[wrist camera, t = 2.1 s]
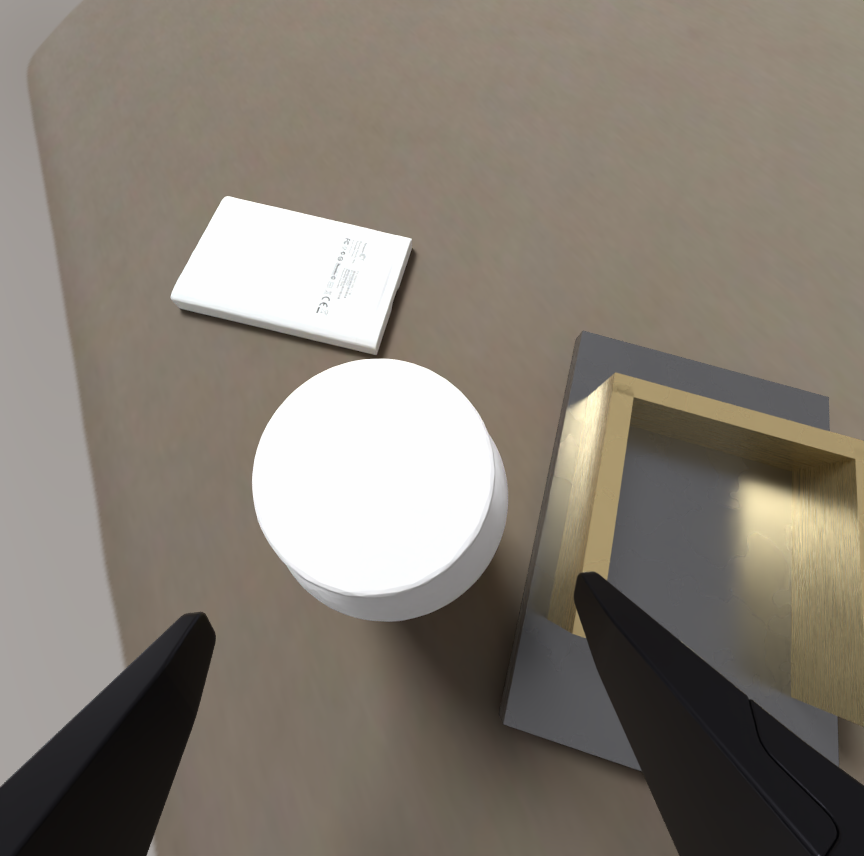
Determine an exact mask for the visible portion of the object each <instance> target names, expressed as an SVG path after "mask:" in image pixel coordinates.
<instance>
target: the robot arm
mask: <svg viewBox="0 0 864 856" xmlns="http://www.w3.org/2000/svg"><path fill="white" fill-rule="evenodd" d="M574 603H575V606H576V609H577V612H578V615H579V618H580V621H581V624H582V627H583V630H584V633H585V636H586V639H587V642H588V645H589V648H590V651H591V654H592V657H593V660H594V663H595V666H596V669H597V671H598V673H599V676H600V678H601V680H602V683H603V685H604V687H605V689H606V692H607V694H608V696H609V698H610V701H611V703H612V705H613V707H614V710H615V712H616V714H617V716H618V719H619V721H620V723H621V725H622V728H623V730H624V732H625V734H626V737H627V739H628V741H629V743H630V746H631V748H632V750H633V752H634V755H635V757H636V759H637V761H638V764H639V766H640V768H641V770H642V773H643V775H644V777H645V779H646V782H647V784H648V786H649V788H650V791H651V793H652V795H653V797H654V800H655V802H656V804H657V806H658V809H659V811H660V813H661V815H662V818H663V820H664V822H665V824H666V827H667V829H668V831H669V833H670V836H671V838H672V840H673V842H674V845H675V847H676V849H677V851H678V854H679V856H864V785H862V784H861V783H860V782H858V781H857V780H856V779H854V778H853V777H851V776H850V775H849V774H847V773H846V772H845V771H843V770H842V769H841V768H839V767H838V766H837V765H835V764H834V763H833V762H831V761H830V760H829V759H827V758H826V757H825V756H823V755H822V754H821V753H819V752H818V751H817V750H815V749H814V748H813V747H811V746H810V745H808V744H807V743H806V742H805V741H803V740H802V739H801V738H800V737H798V736H797V735H796V734H794V733H793V732H792V731H791V730H789V729H788V728H787V727H786V726H784V725H783V724H782V723H781V722H779V721H778V720H777V719H776V718H774V717H773V716H772V715H771V714H769V713H768V712H767V711H766V710H765V709H763V708H762V707H761V706H760V705H758V704H757V703H756V702H755V701H754V700H752V699H749V698H748V696H747V695H746V694H745V693H744V692H742V691H741V690H740V689H739V688H737V687H736V686H735V685H734V684H733V683H731V682H730V681H729V680H728V679H726V678H725V677H724V676H723V675H722V674H720V673H719V672H718V671H717V670H716V669H714V668H713V667H712V666H711V665H709V664H708V663H707V662H706V661H705V660H703V659H702V658H701V657H700V656H698V655H697V654H696V653H695V652H694V651H692V650H691V649H690V648H689V647H687V646H686V645H685V644H684V643H683V642H681V641H680V640H679V639H678V638H676V637H675V636H674V635H673V634H672V633H670V632H669V631H668V630H667V629H665V628H664V627H663V626H662V625H661V624H659V623H658V622H657V621H656V620H654V619H653V618H652V617H651V616H650V615H648V614H647V613H646V612H645V611H644V610H642V609H641V608H640V607H639V606H637V605H636V604H635V603H634V602H633V601H631V600H630V599H629V598H628V597H626V596H625V595H624V594H623V593H622V592H620V591H619V590H618V589H617V588H615V587H614V586H613V585H612V584H611V583H609V582H608V581H607V580H606V579H604V578H603V577H602V576H601V575H600V574H598V573H597V572H594V571H590V572H581V573H579V574H578V576H577V580H576V585H575V590H574ZM215 641H216V635H215V631H214V629H213V627H212V625H211V623H210V622H209V620H208V618H207V616H206V614H205V613H203V612H195V613H187V614H184V615H183V616H181V617H180V618H179V619H178V620H177V621H176V622H175V623H174V624H173V625H171V626H170V627H169V628H168V629H167V630H166V631H165V632H164V633H163V634H162V635H161V636H160V637H159V638H158V639H157V640H156V641H154V642H153V643H152V644H151V645H150V646H149V647H148V648H147V649H146V650H145V651H144V652H143V653H142V654H141V655H140V656H139V657H137V658H136V659H135V660H134V661H133V662H132V663H131V664H130V665H129V666H128V667H127V668H126V669H125V670H124V671H123V672H122V673H120V675H119V676H117V677H116V678H115V679H114V680H113V681H112V682H111V683H110V684H109V685H108V686H107V687H106V688H105V689H104V690H102V691H101V692H100V693H99V694H98V695H97V696H96V697H95V698H94V699H93V700H92V701H91V702H90V703H89V704H88V705H87V706H85V707H84V708H83V709H82V710H81V711H80V712H79V713H78V714H77V715H76V716H75V717H74V718H73V719H72V720H71V721H69V723H67V724H66V725H65V726H64V727H63V728H62V729H61V730H60V731H59V732H58V733H57V734H56V735H55V736H54V737H53V738H52V739H50V740H49V741H48V742H47V743H46V744H45V745H44V746H43V747H42V748H41V749H40V750H39V751H38V752H37V753H35V754H34V755H33V756H32V758H30V759H29V760H28V761H27V762H26V763H25V764H24V765H23V766H22V767H21V768H20V769H18V770H17V771H16V772H15V773H14V774H13V775H12V776H11V777H10V778H9V779H8V780H7V781H6V782H5V783H4V784H3V785H2V786H0V856H146V855H147V853H148V850H149V847H150V844H151V842H152V839H153V836H154V833H155V830H156V828H157V825H158V822H159V819H160V816H161V814H162V811H163V808H164V805H165V802H166V800H167V797H168V794H169V791H170V789H171V786H172V783H173V780H174V777H175V775H176V772H177V769H178V766H179V763H180V761H181V758H182V755H183V752H184V749H185V747H186V744H187V741H188V738H189V736H190V733H191V730H192V727H193V724H194V721H195V718H196V715H197V711H198V708H199V704H200V701H201V697H202V693H203V689H204V685H205V681H206V677H207V673H208V670H209V666H210V662H211V658H212V654H213V650H214V646H215Z"/></svg>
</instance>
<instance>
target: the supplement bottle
mask: <svg viewBox="0 0 864 856" xmlns="http://www.w3.org/2000/svg"><path fill="white" fill-rule="evenodd" d="M252 488H253V499H254V506H255V510H256V514H257V518H258V522H259V524H260V526H261V529H262V531H263V533H264V535H265V537H266V539H267V540H268V542H269V544H270V545H271V547H272V548H273V550H274V551H275V552H276V554H277V555H278V556H279V558H280V559H281V560H282V561H283V562H284V563H285V564H286V565H287V567H288V569H289V570H290V572H291V573H292V575H293V576H294V577H295V579H296V580H297V581H298V582H299V583H300V584H301V585H302V587H303V588H304V589H305V590H306V591H308V592H309V593H310V594H311V595H312V596H314V597H315V598H316V599H318V600H319V601H320V602H322V603H323V604H325V605H327V606H328V607H330V608H332V609H334V610H336V611H338V612H341V613H343V614H346V615H349V616H352V617H355V618H359V619H365V620H371V621H385V622H391V621H403V620H407V619H412V618H416V617H420V616H423V615H426V614H429V613H431V612H434V611H436V610H438V609H440V608H442V607H444V606H445V605H447V604H449V603H451V602H452V601H454V600H455V599H457V598H458V597H459V596H460V595H462V594H463V593H464V592H465V591H467V590H468V589H469V588H470V587H471V586H472V585H473V584H474V583H475V582H476V581H477V580H478V579H479V577H480V576H481V575H482V573H483V572H484V571H485V569H486V568H487V566H488V565H489V563H490V562H491V560H492V558H493V556H494V554H495V552H496V550H497V548H498V546H499V543H500V541H501V538H502V535H503V531H504V528H505V523H506V517H507V511H508V485H507V479H506V473H505V469H504V465H503V462H502V459H501V456H500V454H499V451H498V449H497V447H496V445H495V443H494V441H493V440H492V438H491V437H490V435H489V434H488V431H487V429H486V427H485V425H484V423H483V421H482V419H481V417H480V415H479V414H478V412H477V411H476V409H475V408H474V407H473V405H472V404H471V403H470V401H469V400H468V399H467V398H466V397H465V396H464V395H463V394H462V392H461V391H459V390H458V389H457V388H456V387H455V386H454V385H452V384H451V383H450V382H448V381H447V380H446V379H444V378H443V377H441V376H439V375H437V374H436V373H434V372H432V371H430V370H428V369H426V368H424V367H421V366H418V365H416V364H413V363H409V362H405V361H399V360H392V359H365V360H358V361H352V362H349V363H345V364H342V365H339V366H336V367H333V368H330V369H328V370H326V371H324V372H322V373H320V374H318V375H316V376H314V377H313V378H311V379H310V380H308V381H307V382H305V383H304V384H303V385H301V386H300V387H299V388H297V389H296V390H295V391H294V392H293V393H292V394H291V395H290V396H289V397H288V398H287V399H286V400H285V401H284V403H283V404H282V405H281V406H280V407H279V408H278V409H277V411H276V412H275V414H274V415H273V417H272V418H271V420H270V421H269V423H268V425H267V427H266V429H265V431H264V433H263V435H262V437H261V440H260V443H259V445H258V448H257V452H256V456H255V460H254V468H253V477H252Z"/></svg>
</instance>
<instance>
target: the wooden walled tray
mask: <svg viewBox="0 0 864 856" xmlns="http://www.w3.org/2000/svg"><path fill="white" fill-rule="evenodd" d="M590 571H594V572H597V573H598V574H600V575H601V576H602V577H603V578H604V579H606V580H607V581H608V582H609V583H611V584H612V585H613V586H614V587H615V588H617V589H618V590H619V591H620V592H622V593H623V594H624V595H625V596H626V597H628V598H629V599H630V600H631V601H633V602H634V603H635V604H636V605H637V606H639V607H640V608H641V609H642V610H644V611H645V612H646V613H647V614H648V615H650V616H651V617H652V618H653V619H654V620H656V621H657V622H658V623H659V624H661V625H662V626H663V627H664V628H665V629H667V630H668V631H669V632H670V633H672V634H673V635H674V636H675V637H676V638H678V639H679V640H680V641H681V642H683V643H684V644H685V645H686V646H687V647H689V648H690V649H691V650H692V651H694V652H695V653H696V654H697V655H698V656H700V657H701V658H702V659H703V660H705V661H706V662H707V663H708V664H709V665H711V666H712V667H713V668H714V669H716V670H717V671H718V672H719V673H720V674H722V675H723V676H724V677H725V678H726V679H728V680H729V681H730V682H731V683H733V684H734V685H735V686H736V687H737V688H739V689H740V690H741V691H742V692H744V693H745V694H746V695H747V696H748V698H749V699H752V700H754V701H755V702H756V703H757V704H758V705H760V706H761V707H762V708H763V709H765V710H766V711H767V712H768V713H769V714H771V715H772V716H773V717H774V718H776V719H777V720H778V721H779V722H781V723H782V724H783V725H784V726H786V727H787V728H788V729H789V730H791V731H792V732H793V733H794V734H796V735H797V736H798V737H800V738H801V739H802V740H803V741H805V742H806V743H807V744H808V745H810V746H811V747H813V748H814V749H815V750H817V751H818V752H819V753H821V754H822V755H823V756H825V757H826V758H827V759H829V760H830V761H831V762H833V763H834V764H835V765H837V766H838V767H839V754H838V718H837V716H838V717H841V718H843V719H846V720H848V721H851V722H853V723H855V724H858V725H860V726H863V727H864V441H862V440H859V439H855V438H852V437H848V436H844V435H841V434H837V433H833V432H830V428H829V397H826V396H822V395H819V394H815V393H811V392H808V391H804V390H800V389H797V388H793V387H789V386H786V385H782V384H778V383H774V382H771V381H767V380H763V379H760V378H756V377H752V376H749V375H745V374H741V373H738V372H734V371H730V370H726V369H723V368H719V367H715V366H712V365H708V364H704V363H701V362H697V361H693V360H690V359H686V358H682V357H678V356H675V355H671V354H667V353H664V352H660V351H656V350H653V349H649V348H645V347H641V346H638V345H634V344H630V343H627V342H623V341H619V340H616V339H612V338H608V337H605V336H601V335H597V334H593V333H590V332H586V331H582V332H581V333H580V335H579V336H578V337H577V339H576V341H575V346H574V351H573V356H572V361H571V366H570V371H569V375H568V380H567V385H566V390H565V395H564V400H563V405H562V409H561V414H560V419H559V424H558V429H557V434H556V438H555V443H554V448H553V453H552V458H551V463H550V468H549V472H548V477H547V482H546V487H545V492H544V497H543V502H542V506H541V511H540V516H539V521H538V526H537V531H536V536H535V540H534V545H533V550H532V555H531V560H530V565H529V569H528V574H527V579H526V584H525V589H524V594H523V599H522V603H521V608H520V613H519V618H518V623H517V628H516V633H515V637H514V642H513V647H512V652H511V657H510V662H509V667H508V671H507V676H506V681H505V686H504V691H503V696H502V701H501V705H500V710H499V716H500V718H501V720H502V722H503V724H504V725H507V726H510V727H513V728H516V729H519V730H522V731H525V732H528V733H530V734H533V735H536V736H539V737H542V738H545V739H548V740H551V741H554V742H557V743H560V744H563V745H566V746H569V747H572V748H575V749H578V750H581V751H583V752H586V753H589V754H592V755H595V756H598V757H601V758H604V759H607V760H610V761H613V762H616V763H619V764H622V765H625V766H628V767H631V768H634V769H637V770H639V771H642V770H641V768H640V766H639V764H638V761H637V759H636V757H635V755H634V752H633V750H632V748H631V746H630V743H629V741H628V739H627V737H626V734H625V732H624V730H623V728H622V725H621V723H620V721H619V719H618V716H617V714H616V712H615V710H614V707H613V705H612V703H611V701H610V698H609V696H608V694H607V692H606V689H605V687H604V685H603V683H602V680H601V678H600V676H599V673H598V671H597V669H596V666H595V663H594V660H593V657H592V654H591V651H590V648H589V645H588V642H587V639H586V636H585V633H584V630H583V627H582V624H581V621H580V618H579V615H578V612H577V609H576V606H575V603H574V590H575V585H576V580H577V576H578V574H579V573H581V572H590Z"/></svg>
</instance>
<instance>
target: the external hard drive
mask: <svg viewBox="0 0 864 856" xmlns="http://www.w3.org/2000/svg"><path fill="white" fill-rule="evenodd" d="M411 250H412V239H410V238H406V237H402V236H397V235H392V234H388V233H384V232H380V231H375V230H371V229H367V228H363V227H359V226H354V225H350V224H346V223H341V222H337V221H333V220H328V219H324V218H320V217H315V216H311V215H307V214H302V213H298V212H294V211H290V210H286V209H281V208H277V207H272V206H268V205H264V204H259V203H255V202H250V201H246V200H241V199H237V198H233V197H229V196H228V197H225V198H224V199H223V200H222V201H221V203H220V205H219V207H218V209H217V210H216V212H215V214H214V216H213V218H212V219H211V221H210V223H209V225H208V227H207V229H206V230H205V232H204V234H203V236H202V238H201V239H200V241H199V243H198V245H197V247H196V249H195V250H194V252H193V253H192V255H191V257H190V259H189V261H188V263H187V265H186V266H185V268H184V270H183V272H182V274H181V276H180V277H179V279H178V281H177V283H176V284H175V286H174V289H173V291H172V294H171V299H172V301H173V302H174V303H175V304H176V305H177V306H178V307H179V308H180V309H184V310H188V311H192V312H197V313H201V314H205V315H209V316H213V317H218V318H222V319H226V320H230V321H235V322H239V323H243V324H247V325H251V326H256V327H260V328H264V329H268V330H273V331H277V332H281V333H285V334H289V335H293V336H298V337H302V338H306V339H310V340H314V341H319V342H323V343H327V344H331V345H335V346H340V347H344V348H348V349H352V350H357V351H361V352H365V353H369V354H373V355H377V353H378V350H379V347H380V344H381V340H382V337H383V334H384V331H385V328H386V325H387V322H388V319H389V316H390V313H391V310H392V304H393V300H394V297H395V295H396V292H397V290H398V289H399V286H400V283H401V280H402V277H403V274H404V271H405V268H406V265H407V262H408V259H409V256H410V253H411Z"/></svg>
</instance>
